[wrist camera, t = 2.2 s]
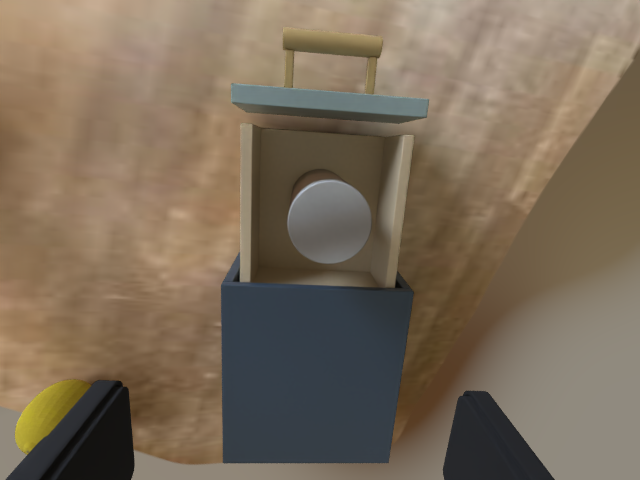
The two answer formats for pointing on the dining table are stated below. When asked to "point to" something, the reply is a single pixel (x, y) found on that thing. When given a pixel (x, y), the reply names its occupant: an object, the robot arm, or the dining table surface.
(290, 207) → the brown lidded jar
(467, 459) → the robot arm
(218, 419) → the dining table surface
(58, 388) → the lemon
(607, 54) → the dining table surface
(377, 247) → the drawer
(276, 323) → the cabinet
